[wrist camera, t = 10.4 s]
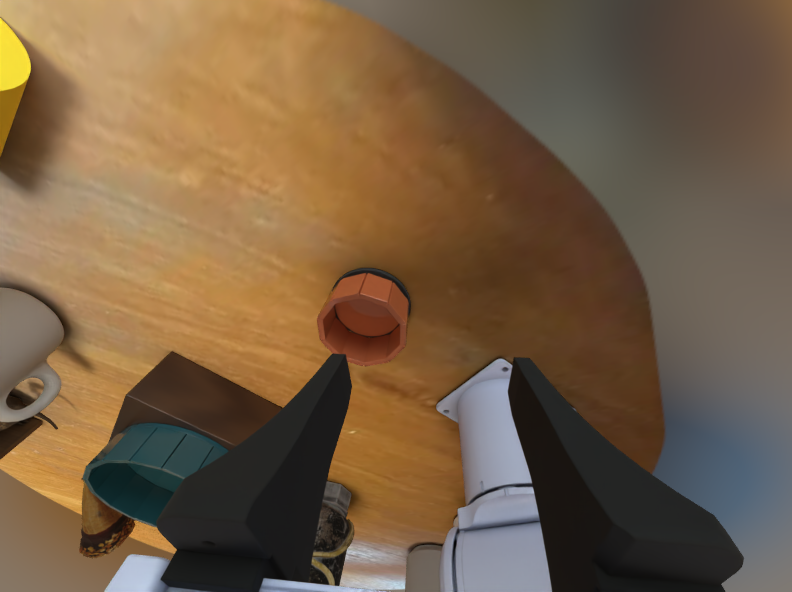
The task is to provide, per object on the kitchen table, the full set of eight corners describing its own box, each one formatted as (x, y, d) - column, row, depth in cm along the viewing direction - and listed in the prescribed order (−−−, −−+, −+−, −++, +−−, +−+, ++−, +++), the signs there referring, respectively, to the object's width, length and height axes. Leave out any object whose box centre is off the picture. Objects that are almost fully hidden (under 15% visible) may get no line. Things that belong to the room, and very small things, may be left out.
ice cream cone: (48, 476, 40) (80, 544, 46) (55, 509, 37) (88, 578, 42) (111, 447, 44) (133, 513, 50) (122, 474, 41) (144, 541, 47)
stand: (297, 415, 31) (276, 464, 27) (249, 466, 37) (226, 512, 33) (171, 351, 28) (125, 394, 24) (141, 418, 34) (100, 462, 30)
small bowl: (426, 300, 22) (425, 327, 19) (378, 349, 25) (372, 378, 22) (359, 253, 21) (348, 276, 18) (316, 310, 24) (301, 337, 21)
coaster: (427, 299, 23) (427, 302, 22) (380, 346, 25) (379, 350, 25) (359, 251, 21) (358, 253, 21) (317, 307, 24) (315, 310, 24)
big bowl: (267, 464, 27) (249, 504, 24) (223, 508, 33) (204, 545, 30) (131, 402, 24) (94, 439, 21) (108, 462, 30) (75, 498, 27)
